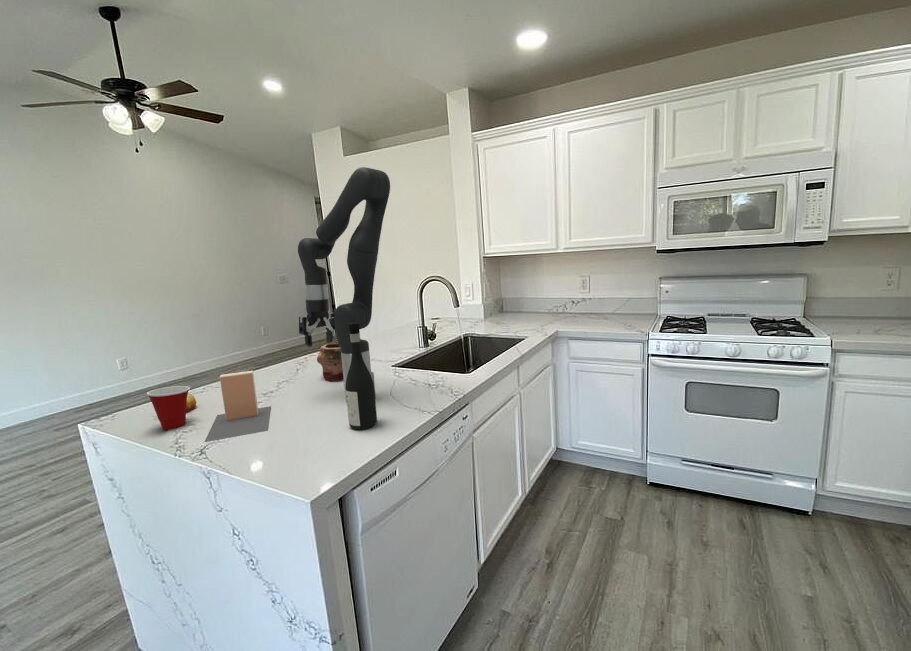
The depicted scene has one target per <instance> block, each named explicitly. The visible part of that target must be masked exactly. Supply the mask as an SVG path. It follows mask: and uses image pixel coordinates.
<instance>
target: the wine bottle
mask: <svg viewBox="0 0 911 651" xmlns="http://www.w3.org/2000/svg"><path fill="white" fill-rule="evenodd" d="M348 327H349V331H350V340H351V350H352V359H351V364H350V368H349V371H348V374H347V378H346V386H345V388H344V391H345V390H346V397H345V401H346V400H347V403H346V407H347V417H348V425H349V427H350V428H352V429H354V430H360V431H361V430H366V429H367V430H368V429H371V428H372V427H374V426H375V425H377V424H376V423H377V422H378V417H377V416H378V414H377V404H376V399H375V394H376V389H375V390H374V383H375V382H374V383H373V380H372V377H371V374H370V372H369V370H368V369H367V367H366V365H365V363H364V360H363V357H362V353H361V343H360V339H361V334H360V333H361V332H360V330H361V329H360V324H359V323H358V322H354V323H349V324H348Z"/></svg>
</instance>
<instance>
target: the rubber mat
mask: <svg viewBox="0 0 911 651" xmlns="http://www.w3.org/2000/svg"><path fill="white" fill-rule="evenodd" d="M258 411H259V414H258V416H252V417H246V418H240V419H234V420H228V421H226V416H225V413H220V414H216V417H215V419H214V420H213V422H212V425H211V427H210V429H209V431H208V433H207V435H206V438H205V440H204V443H206V442H207V443H208V442H212V441H217V440H218V441H219V440H223V439H230V438H234V437H240V436H247V435H252V434H259V433H262V432H267V431H268V432H269V426H270V418H271V413H272V405H271V406H265V407H258Z"/></svg>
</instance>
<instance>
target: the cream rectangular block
mask: <svg viewBox="0 0 911 651" xmlns="http://www.w3.org/2000/svg"><path fill="white" fill-rule="evenodd" d="M219 384H220V388H221V396H222V403H223V408H224V414H225V416H226V421H228V420H234V419H240V418H246V417H252V416H258V414H259V411H258V408H259V404H258V397H257V390H256V382H255V376H254V370H249V371H248V370H247V371H239V372H233V373H226V374H220V376H219Z"/></svg>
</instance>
